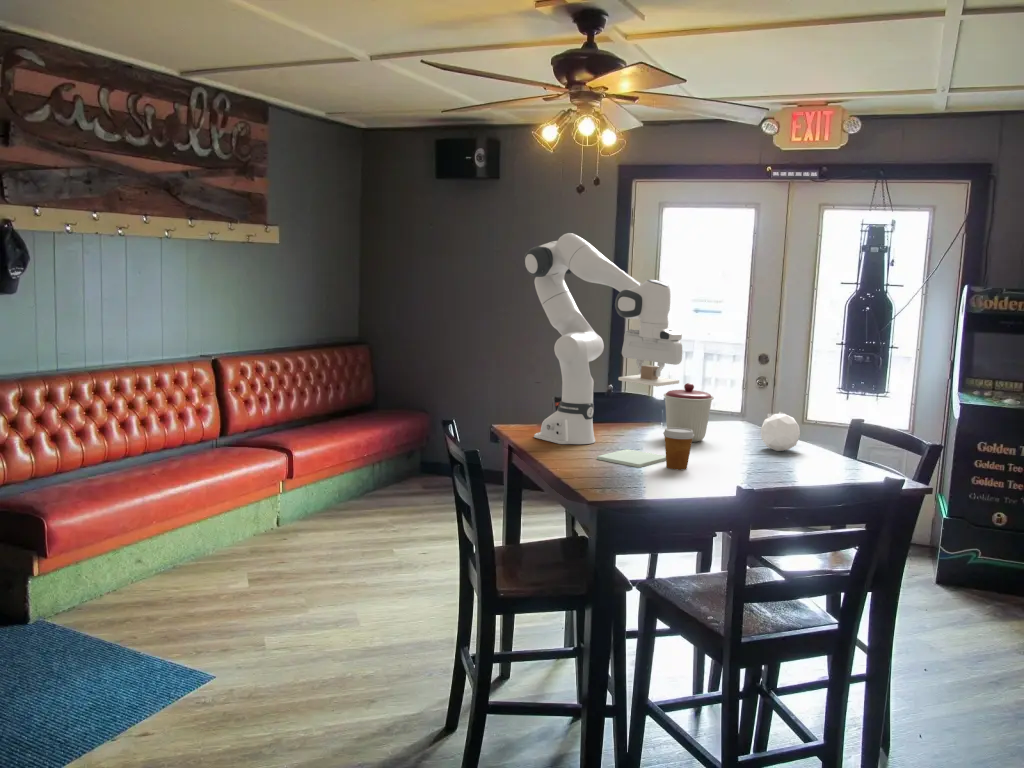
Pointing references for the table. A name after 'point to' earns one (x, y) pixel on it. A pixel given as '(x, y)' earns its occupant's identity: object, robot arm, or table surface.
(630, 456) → the mat
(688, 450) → the disposable coffee cup
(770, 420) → the geodesic sphere
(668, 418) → the canister
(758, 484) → the table surface
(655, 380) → the cover
